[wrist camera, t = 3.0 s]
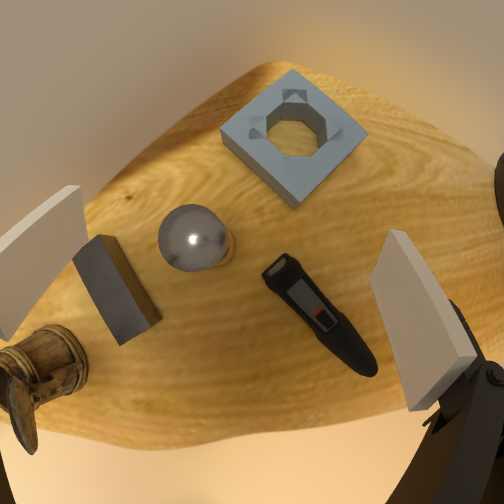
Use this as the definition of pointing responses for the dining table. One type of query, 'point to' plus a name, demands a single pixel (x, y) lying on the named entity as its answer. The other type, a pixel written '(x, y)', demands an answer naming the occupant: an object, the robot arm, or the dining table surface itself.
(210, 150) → the dining table surface
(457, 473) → the robot arm
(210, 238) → the ball
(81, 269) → the square bar
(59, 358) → the wooden mug
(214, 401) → the dining table surface
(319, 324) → the electric trimmer
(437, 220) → the dining table surface
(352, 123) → the bore block
